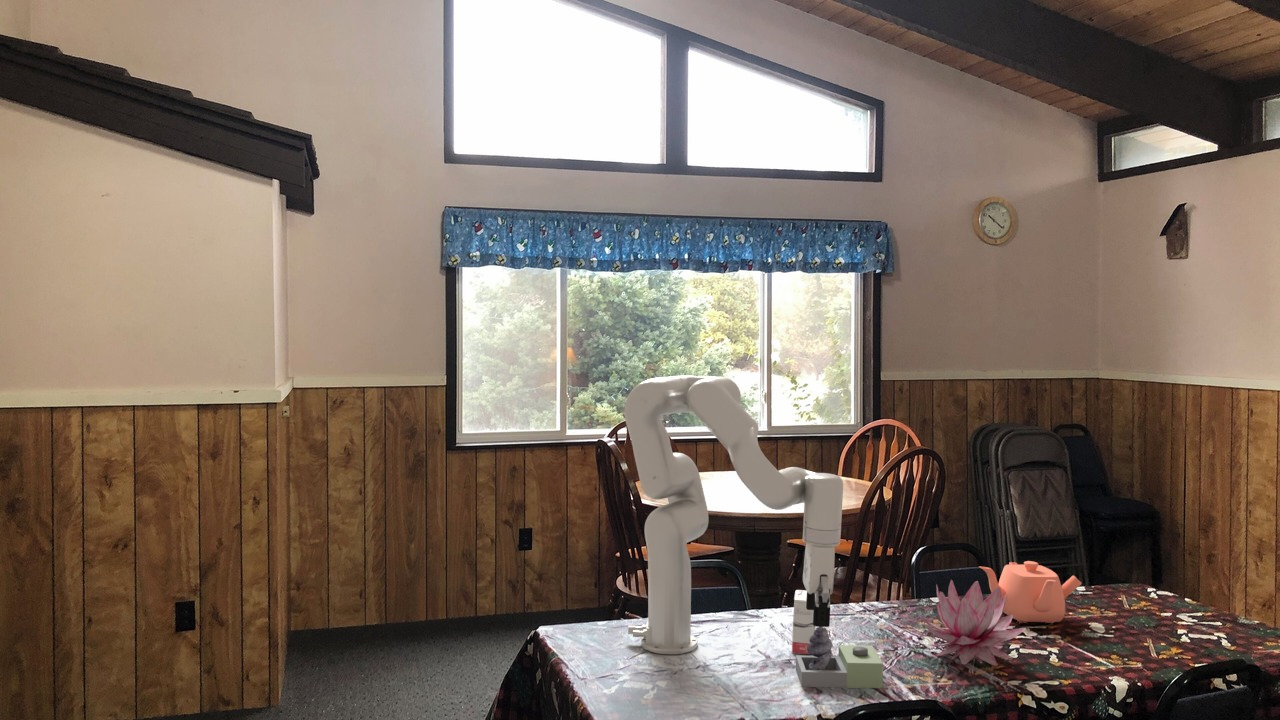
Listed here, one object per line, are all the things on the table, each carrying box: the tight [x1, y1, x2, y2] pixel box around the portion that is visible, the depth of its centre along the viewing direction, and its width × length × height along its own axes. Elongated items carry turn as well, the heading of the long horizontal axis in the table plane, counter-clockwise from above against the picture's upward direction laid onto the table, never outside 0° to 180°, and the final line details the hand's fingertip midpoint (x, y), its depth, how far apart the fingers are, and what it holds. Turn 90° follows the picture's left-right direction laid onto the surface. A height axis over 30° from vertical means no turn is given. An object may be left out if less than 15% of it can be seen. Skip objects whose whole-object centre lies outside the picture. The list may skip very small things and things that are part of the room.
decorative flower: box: [916, 579, 1027, 666], centre depth 201 cm, size 21×21×15 cm
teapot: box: [978, 560, 1082, 624], centre depth 227 cm, size 18×18×14 cm
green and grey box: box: [795, 644, 884, 689], centre depth 189 cm, size 16×10×6 cm, turn 88°
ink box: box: [791, 589, 816, 655], centre depth 206 cm, size 9×5×12 cm, turn 168°
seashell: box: [807, 626, 833, 670], centre depth 190 cm, size 5×5×10 cm
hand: (817, 617), depth 189 cm, fingers open, 9 cm apart
